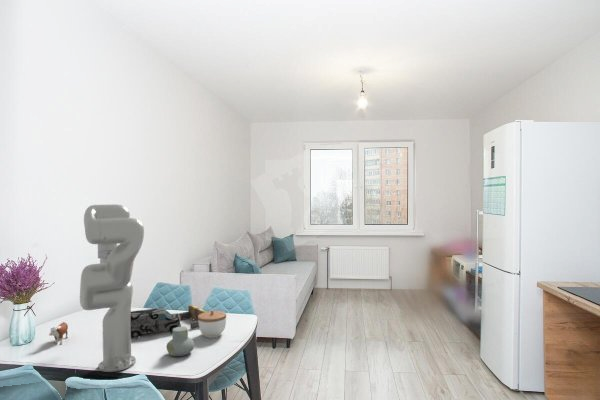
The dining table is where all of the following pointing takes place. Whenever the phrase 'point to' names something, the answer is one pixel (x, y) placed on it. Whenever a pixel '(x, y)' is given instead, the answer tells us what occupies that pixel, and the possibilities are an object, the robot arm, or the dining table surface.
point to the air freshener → (180, 342)
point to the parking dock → (192, 315)
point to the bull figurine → (59, 332)
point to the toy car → (153, 321)
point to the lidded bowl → (212, 323)
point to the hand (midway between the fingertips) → (108, 293)
